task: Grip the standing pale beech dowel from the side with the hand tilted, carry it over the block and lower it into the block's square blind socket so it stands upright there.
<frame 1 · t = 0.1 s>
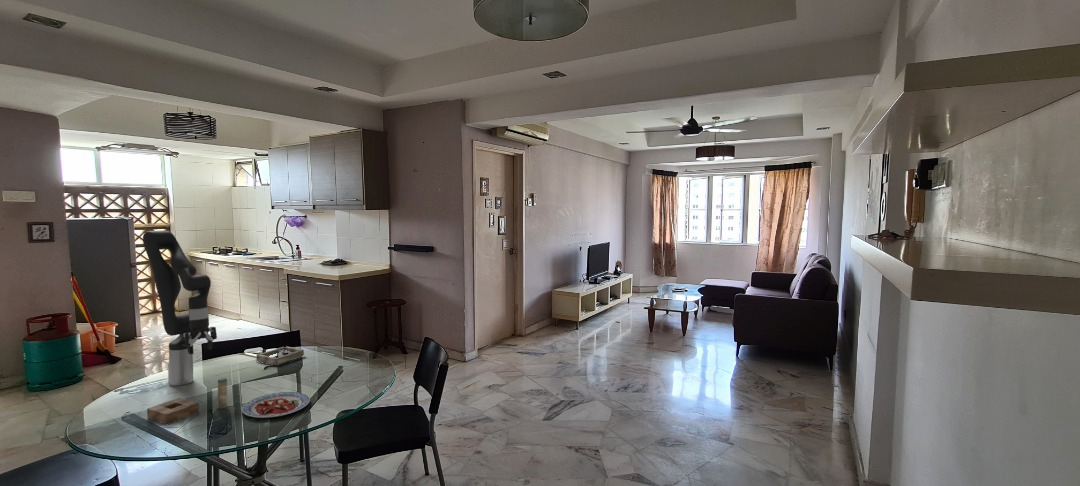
hand: (200, 351, 218), 17 cm above the table, tool pointing down, fingers open, 8 cm apart
soldier figure: (280, 359, 261), on the table
dowel: (222, 406, 200), on the table
socket block: (173, 415, 190), on the table
ceramic plate: (276, 408, 201), on the table
figure corral: (280, 359, 261), on the table
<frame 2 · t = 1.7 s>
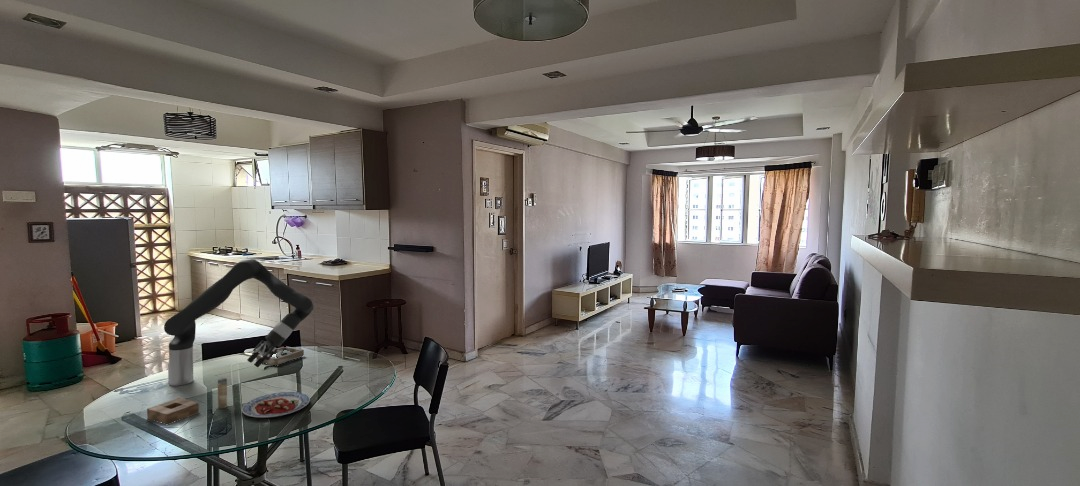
hand: (252, 363, 207), 16 cm above the table, tool tilted 45°, fingers open, 8 cm apart
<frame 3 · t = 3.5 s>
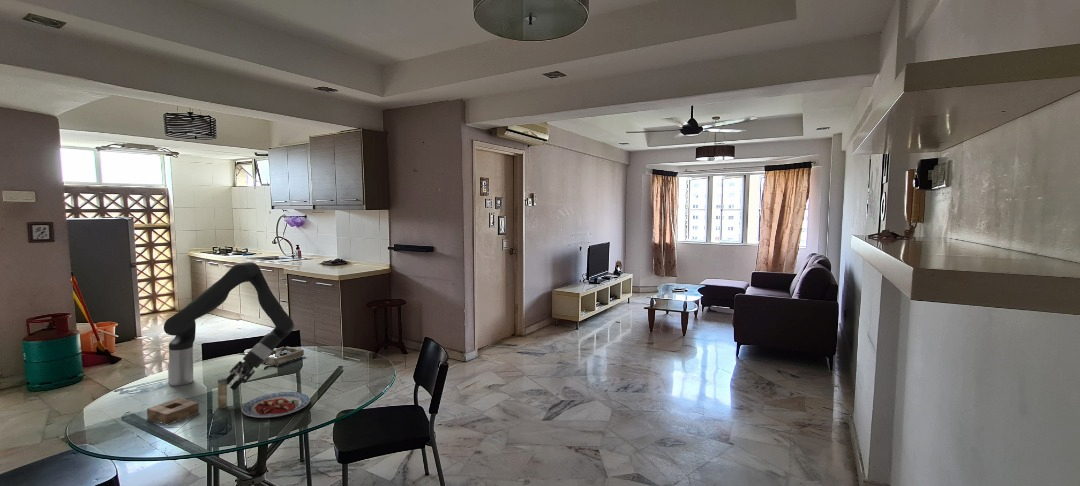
hand: (228, 386, 201), 8 cm above the table, tool tilted 45°, fingers open, 8 cm apart
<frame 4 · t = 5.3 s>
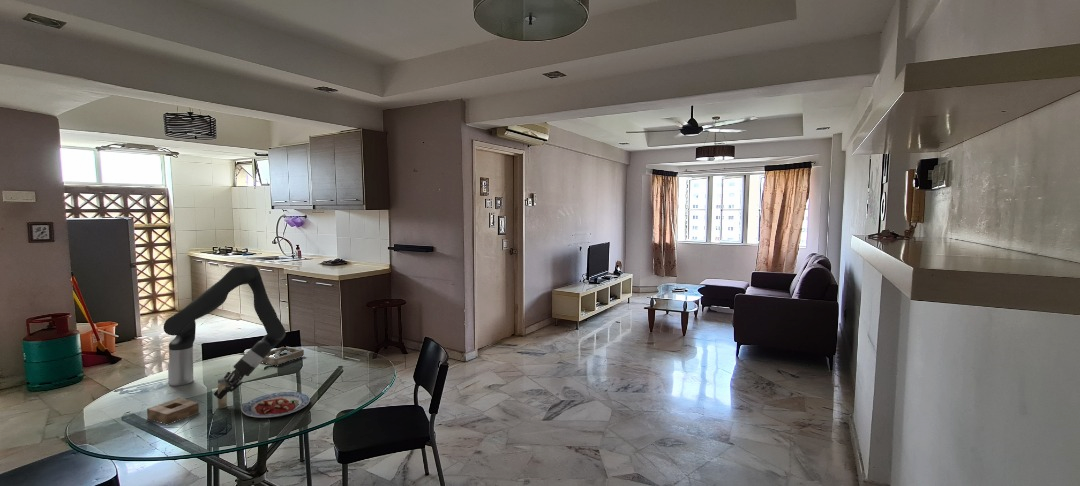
hand: (217, 396, 198), 5 cm above the table, tool tilted 45°, fingers closed on dowel, 3 cm apart
dowel: (222, 406, 200), on the table, touching gripper
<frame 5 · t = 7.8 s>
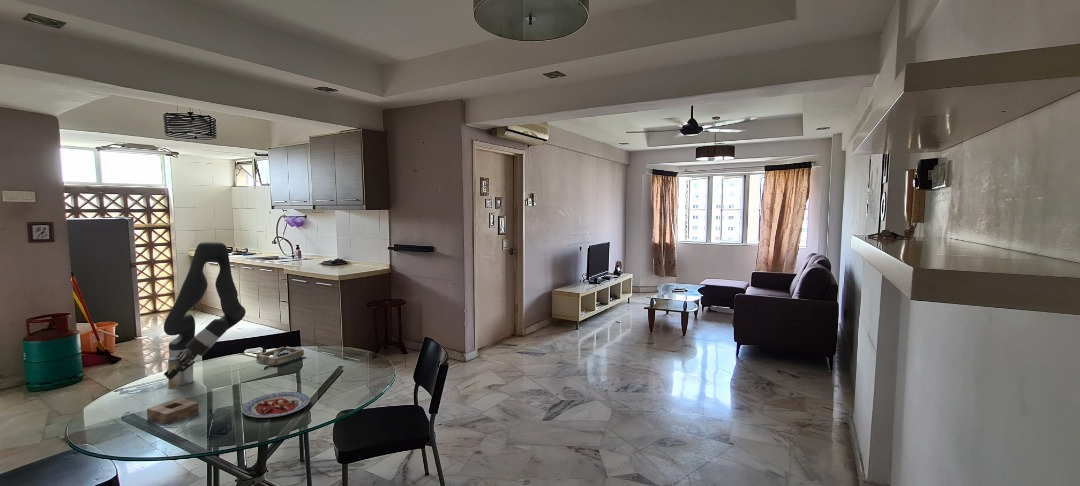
hand: (167, 377, 187), 17 cm above the table, tool tilted 45°, fingers closed on dowel, 3 cm apart
dowel: (173, 387, 189), point 12 cm above the table, touching gripper
when the fingers open (7 cm above the table, at t = 10.4 s): dowel drops 1 cm, resting on socket block.
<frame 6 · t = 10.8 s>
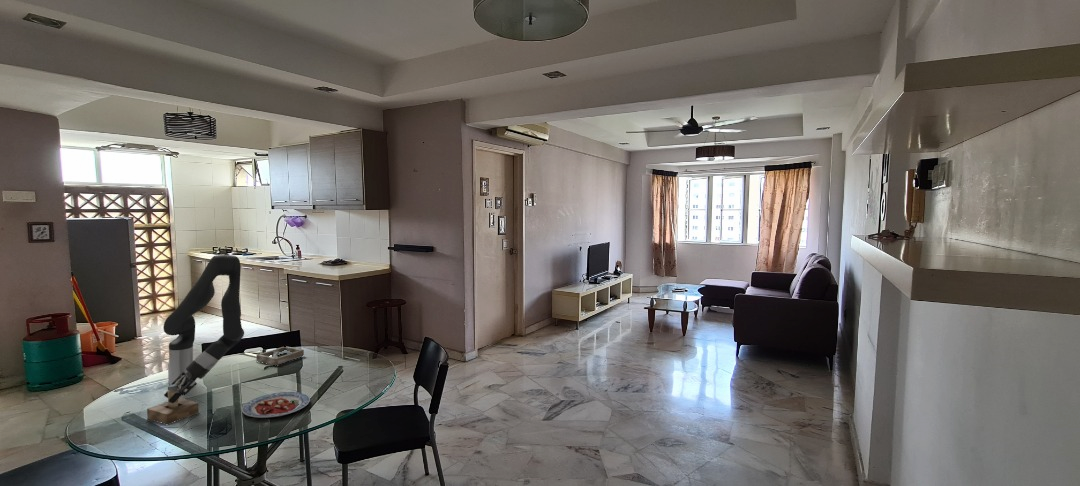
hand: (168, 399, 188), 7 cm above the table, tool tilted 45°, fingers open, 6 cm apart
soldier figure: (274, 361, 259), on the table, touching figure corral
dowel: (173, 414, 190), point 1 cm above the table, touching socket block
everything else where it was.
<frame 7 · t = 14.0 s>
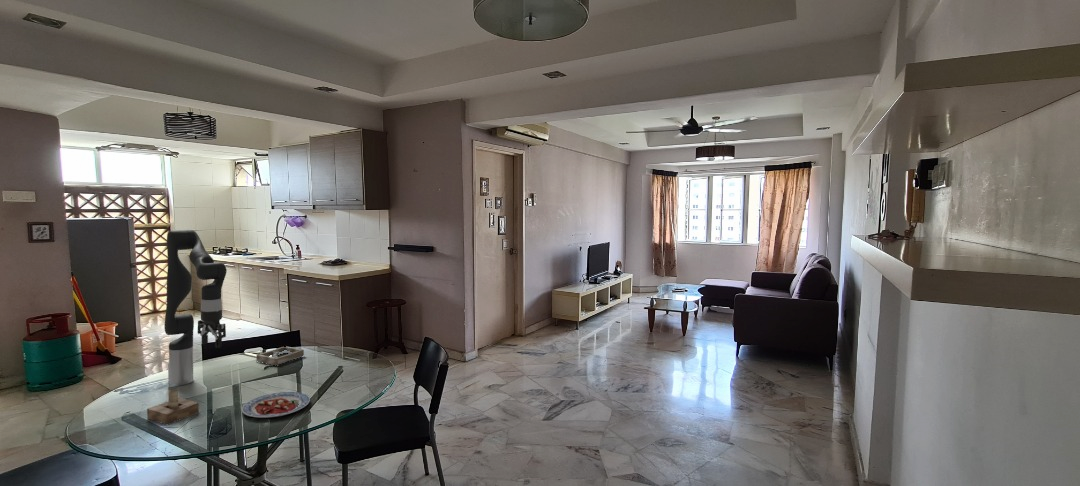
hand: (211, 345, 200), 26 cm above the table, tool pointing down, fingers open, 8 cm apart
soldier figure: (274, 361, 259), on the table
everything else where it was.
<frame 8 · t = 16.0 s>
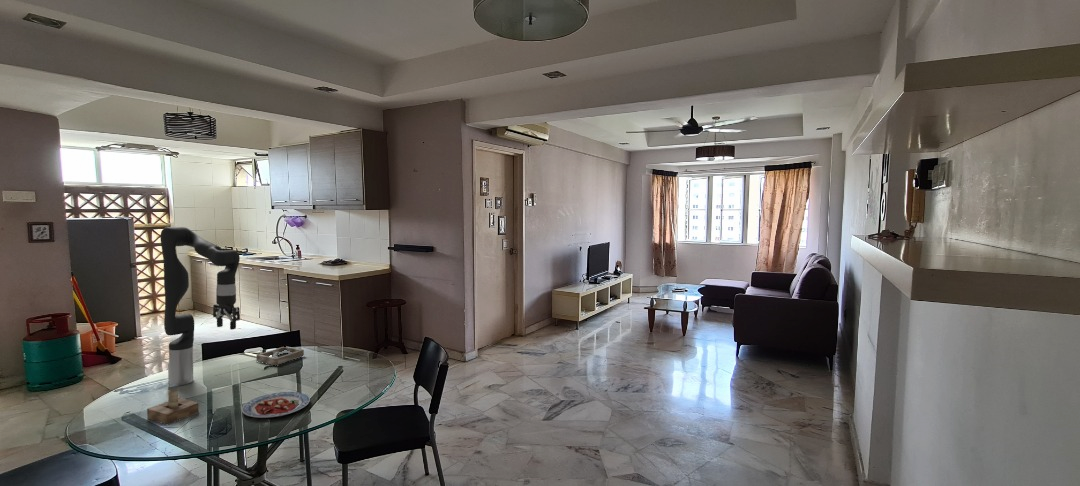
hand: (226, 328, 214), 30 cm above the table, tool pointing down, fingers open, 8 cm apart
soldier figure: (274, 361, 259), on the table, touching figure corral
everything else where it was.
at the end: dowel 0.1 cm off-centre on the socket block, point 0.5 cm above the socket block's base; dowel tilted 0°; the gripper is holding nothing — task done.
